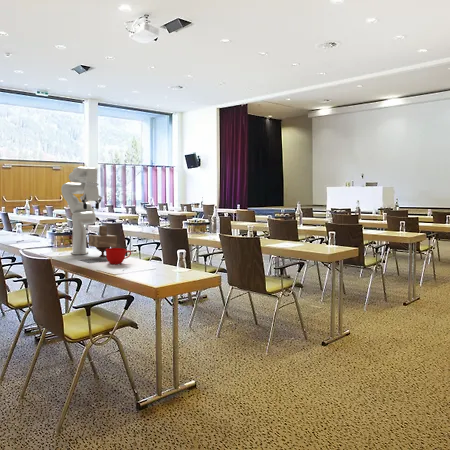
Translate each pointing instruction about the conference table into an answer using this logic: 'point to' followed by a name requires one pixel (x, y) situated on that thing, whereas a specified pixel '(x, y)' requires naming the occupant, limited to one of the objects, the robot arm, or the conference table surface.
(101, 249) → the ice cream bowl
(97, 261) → the mat
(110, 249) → the ceramic cup
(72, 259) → the conference table surface
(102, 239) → the brown block with knob
